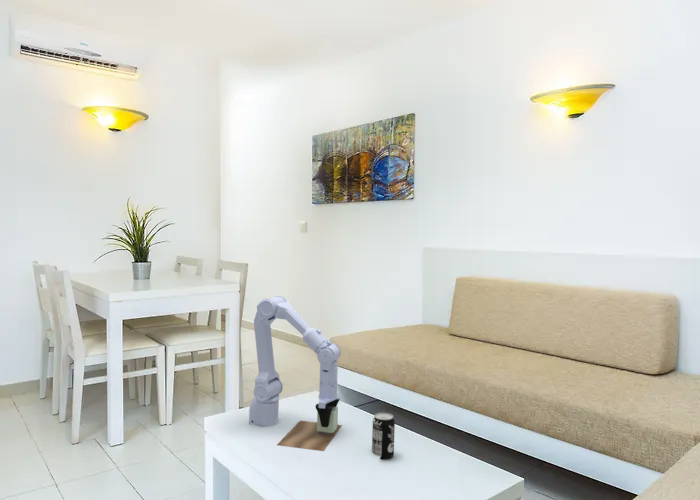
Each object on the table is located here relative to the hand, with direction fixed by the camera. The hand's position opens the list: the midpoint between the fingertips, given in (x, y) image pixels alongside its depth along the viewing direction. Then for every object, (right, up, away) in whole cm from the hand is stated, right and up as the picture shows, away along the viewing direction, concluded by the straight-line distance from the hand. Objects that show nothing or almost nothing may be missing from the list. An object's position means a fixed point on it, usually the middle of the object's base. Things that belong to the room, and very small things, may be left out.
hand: (327, 423), depth 168 cm
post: (0, -3, 0) cm, 3 cm away
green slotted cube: (0, -2, 0) cm, 2 cm away
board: (-5, -4, -2) cm, 7 cm away
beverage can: (+17, -5, -13) cm, 22 cm away
